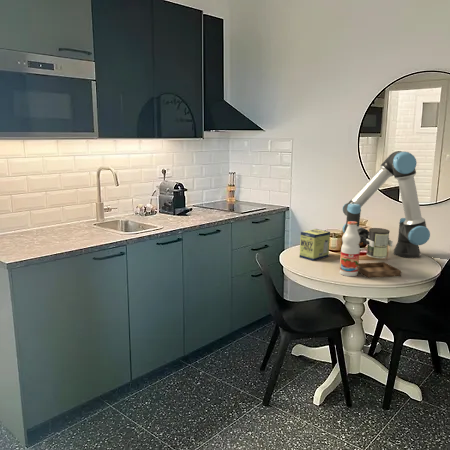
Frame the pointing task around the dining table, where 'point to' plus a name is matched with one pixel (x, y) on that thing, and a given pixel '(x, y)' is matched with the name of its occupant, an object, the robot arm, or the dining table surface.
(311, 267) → the dining table surface
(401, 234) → the robot arm
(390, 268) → the tray
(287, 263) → the dining table surface
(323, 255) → the protein box
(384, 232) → the coffee can
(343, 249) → the fruit juice
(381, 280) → the dining table surface
